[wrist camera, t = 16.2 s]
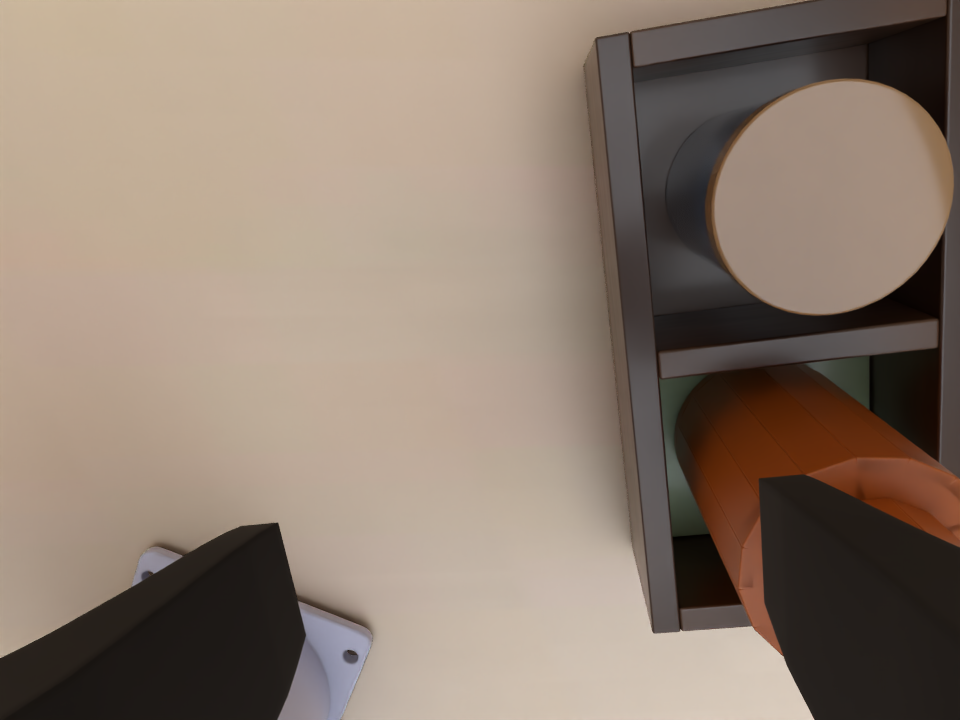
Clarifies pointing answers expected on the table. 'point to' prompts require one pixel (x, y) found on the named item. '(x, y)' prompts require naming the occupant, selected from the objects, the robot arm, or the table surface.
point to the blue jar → (815, 194)
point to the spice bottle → (797, 463)
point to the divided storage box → (723, 303)
